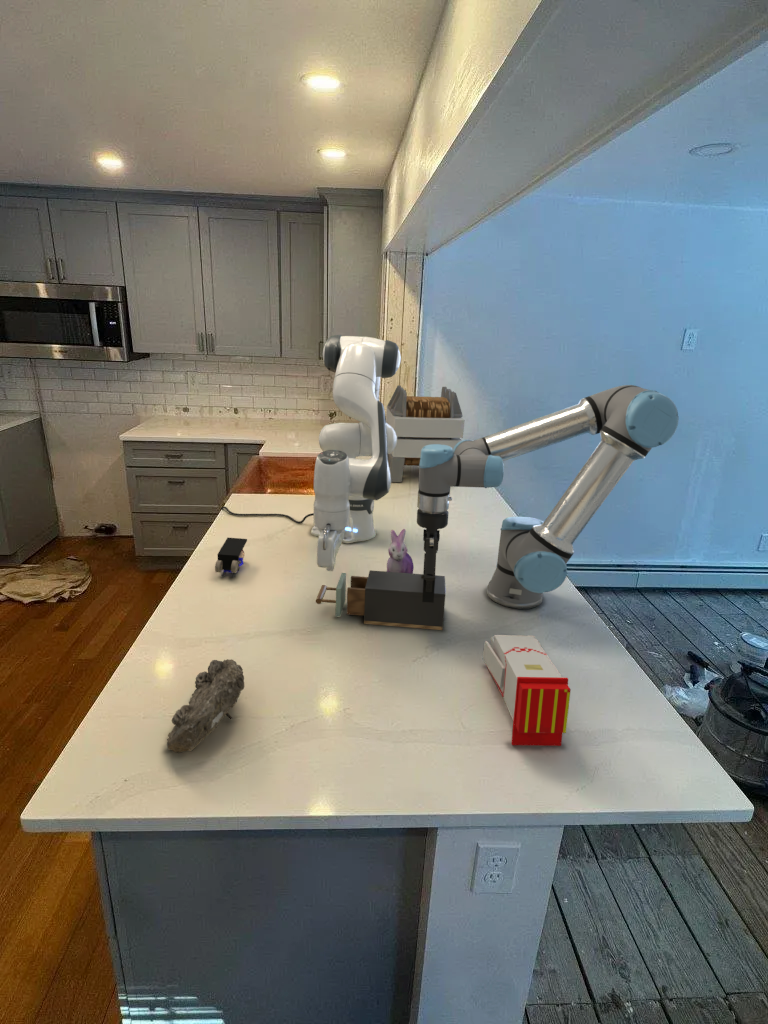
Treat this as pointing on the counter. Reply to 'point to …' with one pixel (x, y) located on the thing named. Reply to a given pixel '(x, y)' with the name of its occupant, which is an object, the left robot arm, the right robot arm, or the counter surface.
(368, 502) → the left robot arm
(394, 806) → the counter surface
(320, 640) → the counter surface
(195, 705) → the fossil
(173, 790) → the counter surface
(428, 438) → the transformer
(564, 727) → the toy
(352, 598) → the drawer
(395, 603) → the cabinet
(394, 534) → the figurine
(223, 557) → the black wheeled block
